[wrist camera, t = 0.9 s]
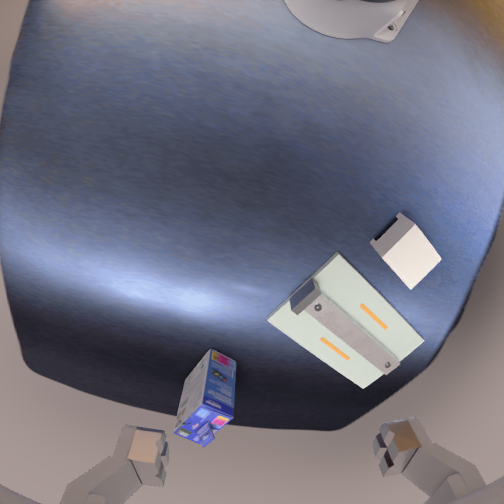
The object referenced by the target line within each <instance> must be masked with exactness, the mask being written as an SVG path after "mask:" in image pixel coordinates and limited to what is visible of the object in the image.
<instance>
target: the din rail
mask: <svg viewBox="0 0 504 504" xmlns="http://www.w3.org/2000/svg"><path fill="white" fill-rule="evenodd" d="M290 306H291V311H293V312H294V313H295V314H296V315H298V314H300V313H301V312H302V311H303V310H305V311H306V312H307V313H308V314H310V315H311V316H312V317H313V318H315V319H316V320H317V321H318V322H320V323H321V324H322V325H323V326H325V327H326V328H327V329H328V330H330V331H331V332H332V333H333V334H335V335H336V336H337V337H338V338H340V339H341V340H342V341H344V342H345V343H346V344H347V345H349V346H350V347H351V348H352V349H354V350H355V351H356V352H357V353H359V354H360V355H361V356H362V357H364V358H365V359H366V360H368V361H369V362H370V363H371V364H373V365H374V366H375V367H376V368H378V369H379V370H380V371H382V372H383V373H384V374H385V375H387V374H388V373H390V372H391V371H392V370H394V369H395V368H396V367H397V366H399V365H400V364H401V363H400V361H399V359H398V358H397V357H396V356H395V355H394V354H393V353H391V352H390V351H389V350H388V349H387V348H386V347H385V346H384V345H382V344H381V343H380V342H379V341H378V340H377V339H376V338H374V337H373V336H372V335H371V334H370V333H369V332H368V331H366V330H365V329H364V328H363V327H362V326H361V325H360V324H358V323H357V322H356V321H355V320H354V319H353V318H352V317H350V316H349V315H348V314H347V313H346V312H345V311H344V310H342V309H341V308H340V307H339V306H338V305H337V304H336V303H334V302H333V301H332V300H331V299H330V298H329V297H327V296H326V295H325V294H324V293H323V292H322V291H321V290H320V287H319V284H318V282H317V281H315V280H314V279H313V278H311V279H310V280H309V281H308V282H307V283H306V284H305V285H304V286H303V287H302V288H300V289H299V290H298V291H297V292H296V293H295V294H294V295H293V296H292V297H291V298H290Z"/></svg>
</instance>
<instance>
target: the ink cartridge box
mask: <svg viewBox="0 0 504 504" xmlns="http://www.w3.org/2000/svg"><path fill="white" fill-rule="evenodd" d="M235 379H236V361H235V360H233V359H231V358H229V357H227V356H225V355H223V354H221V353H220V352H218V351H216V350H214V349H209V351H208V352H207V353H206V354H205V356H204V357H203V358H202V359H201V361H200V362H199V363H198V364H197V366H196V367H195V368H194V369H193V371H192V372H191V373H190V374H189V376H188V377H187V378H186V379H185V383H184V387H183V392H182V396H181V401H180V405H179V409H178V413H177V418H176V423H175V428H174V433H175V434H177V435H179V436H182V437H184V438H187V439H189V440H191V441H194V442H196V443H199V444H201V445H202V447H204V446H206V445H207V444H208V443H210V442H211V441H212V440H214V439H215V437H214V434H215V433H216V432H217V431H218V430H220V429H221V428H222V427H223V426H224V425H226V424H227V423H228V422H229V421H230V420H231V419H232V418H233V414H234V396H235Z"/></svg>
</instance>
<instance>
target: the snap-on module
mask: <svg viewBox="0 0 504 504" xmlns="http://www.w3.org/2000/svg"><path fill="white" fill-rule="evenodd" d="M396 217H397V219H398V220H397V221H396V222H395V223H394V224H393V225H392V226H391V227H390V228H389V229H388V230H387V231H386V232H385V233H384V234H383V235H382V236H381V237H380V238H379V239H378V240H377V241H375V240H374V239H372V240H371V241H370V242H369V243H370V244H371V245H372V246H373V248H374V249H375V250H376V251H377V252H378V254H379V255H380V256H381V257H382V258H383V260H384V261H385V262H386V263H387V264H388V265H389V266H390V267H391V268H392V269H393V271H394V272H395V273H396V274H397V275H398V276H399V277H400V278H401V279H402V281H403V282H404V283H405V284H406V285H407V286H408V287H409V289H410V290H411V289H412V288H413V287H414V286H415V285H416V284H417V283H418V282H419V281H421V280H422V279H423V278H424V277H425V276H426V275H427V274H428V273H429V272H430V271H431V270H432V269H433V268H434V267H435V266H436V265H437V264H438V263H439V262H440V261H441V260H442V259H441V257H440V256H439V254H438V253H437V252H436V250H435V249H434V248H433V246H432V245H431V243H430V242H429V241H428V239H427V238H426V237H425V236H424V234H423V233H422V232H421V230H420V229H419V228H418V226H417V225H416V224H415V223H414V222H412V221H411V220H410V219H408V218H407V217H405V216H404V215H403V214H401V213H400V212H399V213H398V214H397V215H396Z"/></svg>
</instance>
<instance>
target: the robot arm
mask: <svg viewBox="0 0 504 504" xmlns="http://www.w3.org/2000/svg"><path fill="white" fill-rule="evenodd" d="M418 1H419V0H284V2H285V3H286V5H287V7H288V8H289V10H290V11H291V12H292V14H293V15H294V16H295V17H296V18H297V19H298V20H300V21H301V22H302V23H303V24H305V25H306V26H308V27H309V28H311V29H313V30H315V31H317V32H319V33H322V34H324V35H327V36H331V37H335V38H342V39H356V38H370V39H373V40H376V41H379V42H383V43H390V42H392V41H393V40H394V39H395V37H396V36H397V34H398V33H399V31H400V29H401V28H402V26H403V25H404V23H405V21H406V20H407V18H408V17H409V15H410V13H411V12H412V10H413V9H414V7H415V6H416V4H417V2H418ZM388 26H390V27H391V29H392V30H389V29H388ZM379 430H380V433H379V434H378V435H376V437H375V439H374V442H373V449H374V454H375V456H376V457H377V458H378V459H380V463H379V467H380V470H381V472H382V475H383V477H386V476H390V475H395V474H399V473H402V475H403V476H405V477H406V478H407V479H408V480H410V481H411V482H412V483H413V484H414V485H416V486H417V487H418V488H419V489H421V490H422V491H423V492H424V493H426V494H427V495H428V496H430V498H429V499H428V500H427V501H426V502H425V503H424V504H504V476H503V477H501V478H499V479H497V480H496V481H494V482H492V483H490V484H488V485H486V484H485V482H484V480H483V478H482V476H481V475H480V473H479V471H478V469H477V468H476V466H475V465H474V464H472V463H471V462H469V461H467V460H465V459H463V458H461V457H460V456H458V455H456V454H454V453H452V452H450V451H448V450H447V449H445V448H443V447H442V446H440V445H438V444H436V443H432V442H431V440H430V438H429V436H428V434H427V433H426V431H425V429H424V427H423V426H422V424H421V422H420V420H419V419H418V418H417V417H411V418H407V419H401V420H396V421H391V422H387V423H383V424H382V425H381V426H380V428H379ZM165 439H166V433H165V431H164V430H156V429H149V428H143V427H137V426H131V425H125V426H124V427H123V428H122V431H121V434H120V437H119V440H118V443H117V445H116V449H115V451H114V454H113V457H111V456H109V457H107V458H106V459H104V460H103V461H101V462H100V463H99V464H97V465H96V466H94V467H93V468H92V469H90V470H88V471H87V472H86V473H84V474H83V475H81V476H80V477H78V478H77V479H75V480H74V481H72V482H71V483H69V484H68V485H67V487H66V489H65V492H64V494H63V497H62V500H61V502H60V504H124V503H125V502H126V501H127V500H128V499H129V498H130V497H131V496H132V495H133V494H134V493H135V492H136V491H137V490H138V489H139V488H140V487H141V486H142V484H143V485H150V486H158V487H164V484H165V478H166V471H165V467H166V466H167V465H168V462H169V445H168V442H166V441H165ZM0 504H41V503H38V502H36V501H33V500H31V499H29V498H27V497H25V496H23V495H20V494H18V493H16V492H14V491H12V490H10V489H8V488H6V487H4V486H2V485H1V484H0Z"/></svg>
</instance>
